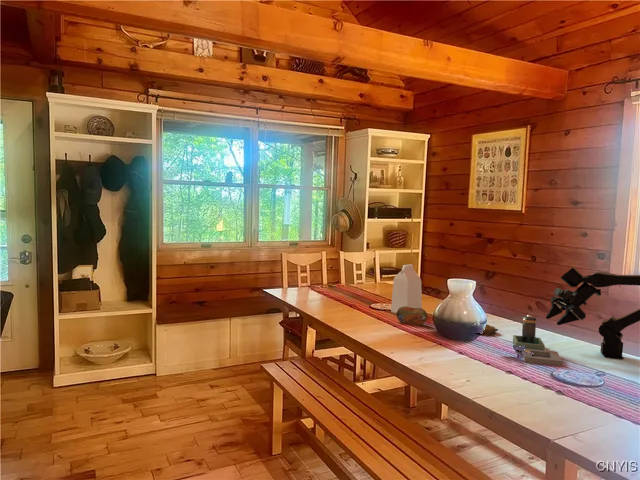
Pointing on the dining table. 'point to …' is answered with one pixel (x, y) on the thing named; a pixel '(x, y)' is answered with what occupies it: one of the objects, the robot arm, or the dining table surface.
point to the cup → (538, 343)
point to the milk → (406, 289)
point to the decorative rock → (489, 330)
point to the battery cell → (528, 329)
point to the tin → (412, 315)
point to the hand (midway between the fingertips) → (551, 321)
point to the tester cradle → (552, 360)
